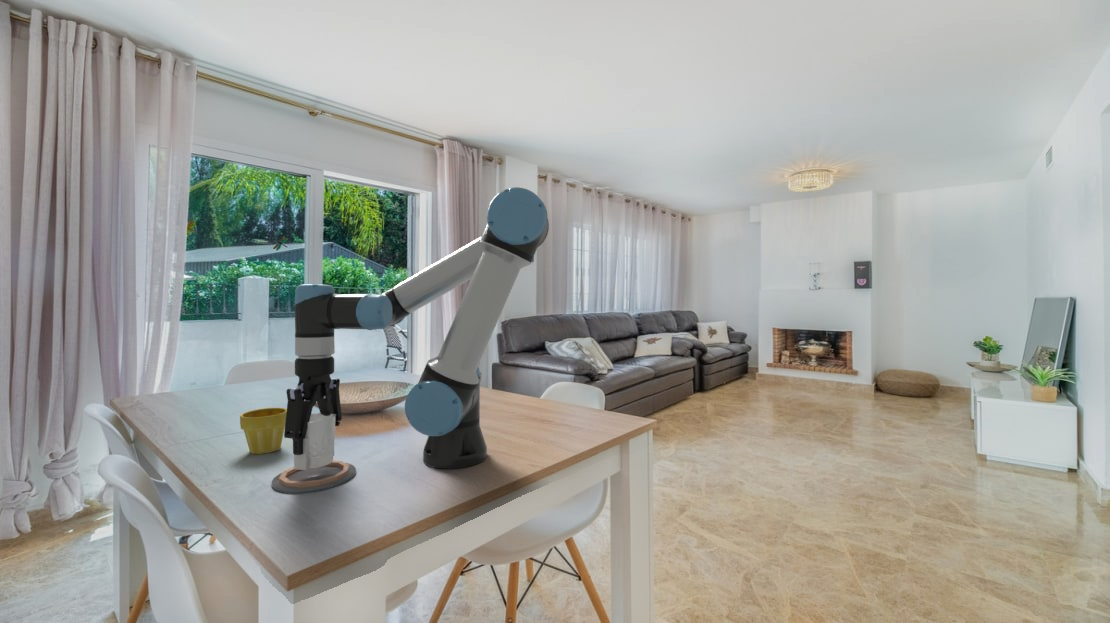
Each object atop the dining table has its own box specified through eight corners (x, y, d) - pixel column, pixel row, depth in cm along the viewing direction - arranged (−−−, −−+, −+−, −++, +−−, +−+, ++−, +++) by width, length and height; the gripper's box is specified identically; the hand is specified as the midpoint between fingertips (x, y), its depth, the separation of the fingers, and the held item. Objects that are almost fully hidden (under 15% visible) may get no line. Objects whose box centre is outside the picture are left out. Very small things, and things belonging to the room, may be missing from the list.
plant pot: (235, 459, 109) (235, 418, 108) (245, 446, 118) (245, 409, 118) (285, 453, 113) (285, 414, 113) (291, 441, 122) (290, 405, 122)
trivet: (370, 466, 104) (370, 460, 104) (324, 496, 88) (324, 488, 88) (308, 462, 107) (308, 456, 107) (252, 490, 91) (252, 483, 91)
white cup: (318, 471, 93) (318, 423, 93) (285, 468, 94) (285, 421, 94) (343, 458, 100) (343, 413, 100) (312, 455, 102) (312, 411, 102)
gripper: (330, 350, 108) (330, 446, 108) (261, 362, 88) (261, 479, 88) (358, 351, 106) (358, 448, 107) (295, 363, 86) (296, 481, 87)
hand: (315, 461), depth 97 cm, fingers closed on white cup, 7 cm apart
